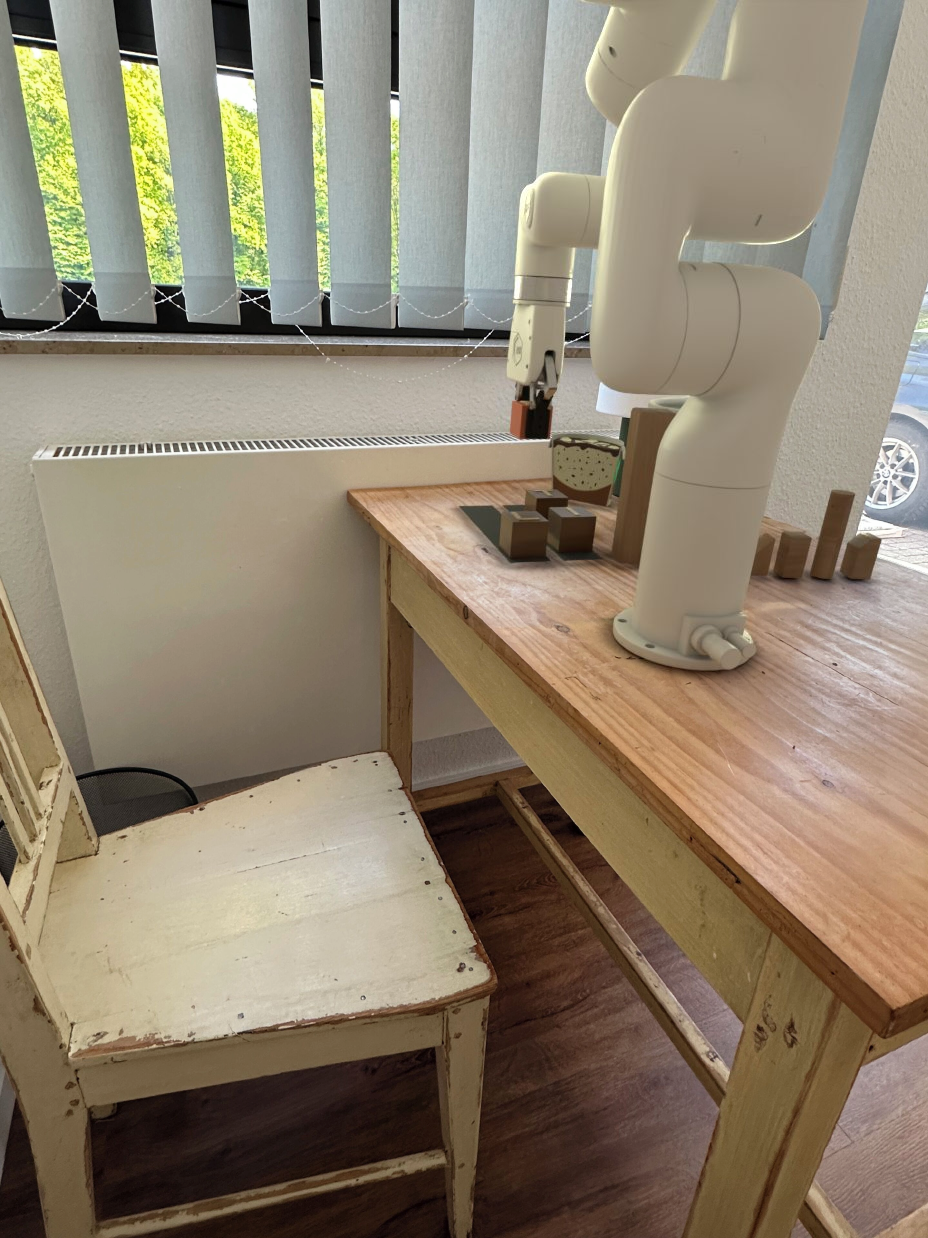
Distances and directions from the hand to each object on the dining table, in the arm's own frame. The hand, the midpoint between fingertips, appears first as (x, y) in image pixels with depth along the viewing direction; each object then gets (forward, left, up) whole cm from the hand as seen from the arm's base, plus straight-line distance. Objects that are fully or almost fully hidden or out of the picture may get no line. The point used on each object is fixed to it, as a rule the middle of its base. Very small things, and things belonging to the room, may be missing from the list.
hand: (529, 433), depth 101 cm
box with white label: (-19, +7, -11) cm, 23 cm away
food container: (+6, -13, -12) cm, 18 cm away
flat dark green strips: (-10, +3, -12) cm, 16 cm away
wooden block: (-23, -9, -12) cm, 27 cm away
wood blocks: (-29, -21, -12) cm, 37 cm away
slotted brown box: (-18, 0, -11) cm, 21 cm away
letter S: (0, 0, 0) cm, 0 cm away
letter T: (-9, 0, -11) cm, 14 cm away
